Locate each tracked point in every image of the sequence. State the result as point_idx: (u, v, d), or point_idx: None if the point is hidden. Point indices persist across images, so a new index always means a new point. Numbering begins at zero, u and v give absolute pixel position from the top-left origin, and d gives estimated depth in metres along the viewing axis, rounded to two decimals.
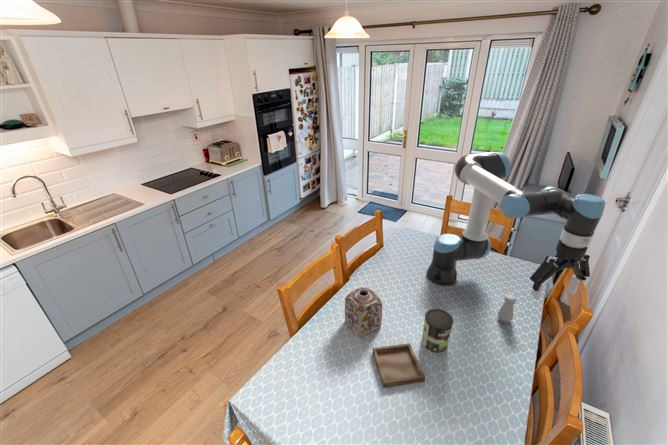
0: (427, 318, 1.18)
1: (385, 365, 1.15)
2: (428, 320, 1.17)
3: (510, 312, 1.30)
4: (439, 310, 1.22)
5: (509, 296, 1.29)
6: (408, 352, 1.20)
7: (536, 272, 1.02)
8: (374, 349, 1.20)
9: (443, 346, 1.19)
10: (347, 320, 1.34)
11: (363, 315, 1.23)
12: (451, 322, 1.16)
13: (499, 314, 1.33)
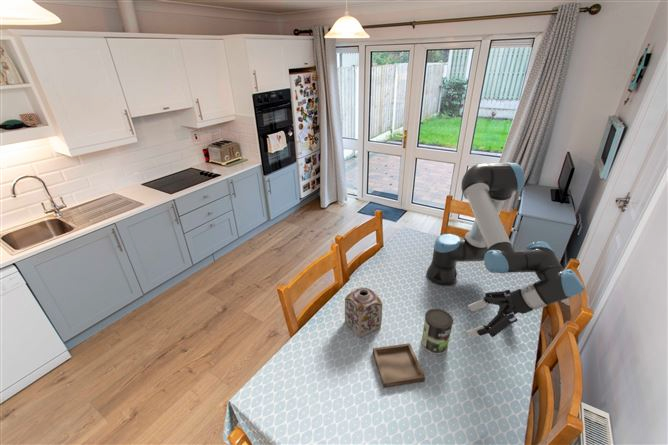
0: (427, 318, 1.18)
1: (385, 365, 1.15)
2: (428, 320, 1.17)
3: None
4: (439, 310, 1.22)
5: None
6: (408, 352, 1.20)
7: None
8: (374, 349, 1.20)
9: (443, 346, 1.19)
10: (347, 320, 1.34)
11: (363, 315, 1.23)
12: (451, 322, 1.16)
13: None
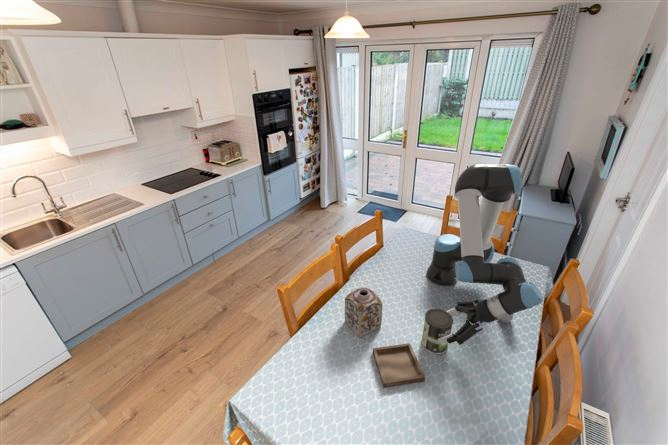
0: (427, 318, 1.18)
1: (385, 365, 1.15)
2: (428, 320, 1.17)
3: None
4: (439, 310, 1.22)
5: None
6: (408, 352, 1.20)
7: None
8: (374, 349, 1.20)
9: (443, 346, 1.19)
10: (347, 320, 1.34)
11: (363, 315, 1.23)
12: (451, 322, 1.16)
13: None
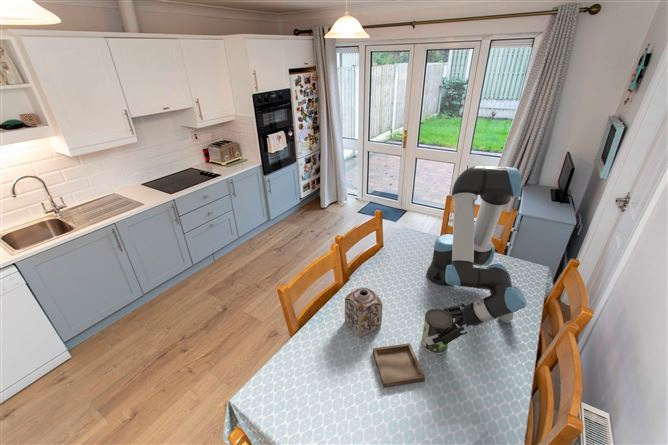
0: (427, 318, 1.18)
1: (385, 365, 1.15)
2: (428, 320, 1.17)
3: None
4: (439, 310, 1.22)
5: None
6: (408, 352, 1.20)
7: None
8: (374, 349, 1.20)
9: (443, 346, 1.19)
10: (347, 320, 1.34)
11: (363, 315, 1.23)
12: (451, 322, 1.16)
13: None
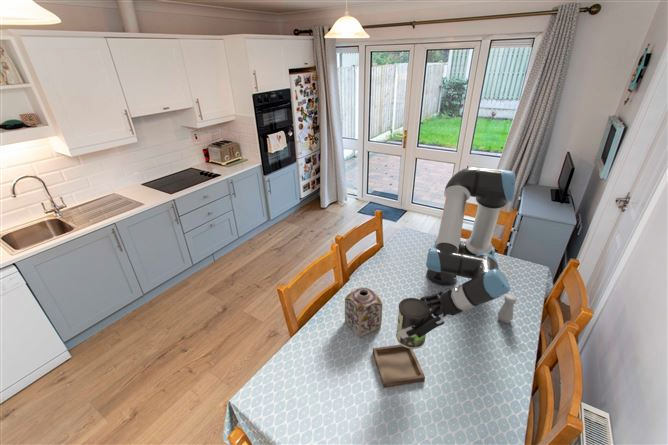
0: (401, 308, 1.05)
1: (385, 365, 1.15)
2: (402, 310, 1.04)
3: (510, 312, 1.30)
4: (415, 299, 1.09)
5: (509, 296, 1.29)
6: (408, 352, 1.20)
7: None
8: (374, 349, 1.20)
9: (419, 340, 1.05)
10: (347, 320, 1.34)
11: (363, 315, 1.23)
12: (427, 312, 1.03)
13: (499, 314, 1.33)
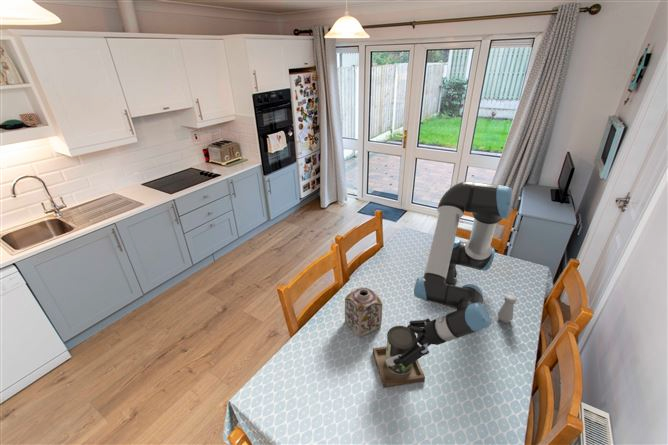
0: (389, 337, 1.09)
1: (385, 365, 1.15)
2: (390, 339, 1.09)
3: (510, 312, 1.30)
4: (403, 327, 1.13)
5: (509, 296, 1.29)
6: None
7: None
8: (374, 349, 1.20)
9: (406, 367, 1.10)
10: (347, 320, 1.34)
11: (363, 315, 1.23)
12: None
13: (499, 314, 1.33)
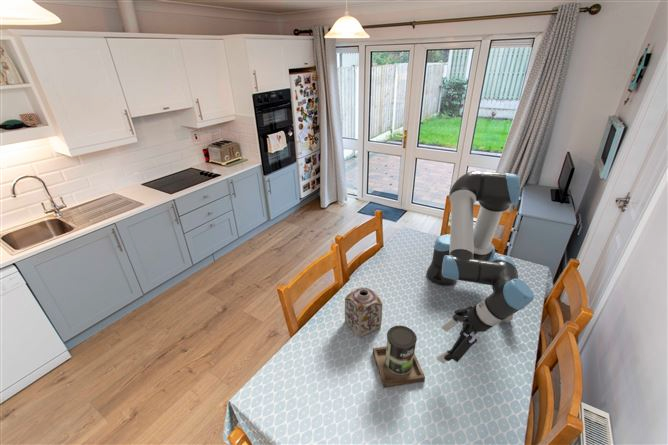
0: (389, 336, 1.10)
1: (385, 365, 1.15)
2: (390, 338, 1.09)
3: None
4: (403, 327, 1.13)
5: None
6: None
7: None
8: (374, 349, 1.20)
9: (406, 366, 1.10)
10: (347, 320, 1.34)
11: (363, 315, 1.23)
12: (414, 341, 1.08)
13: None
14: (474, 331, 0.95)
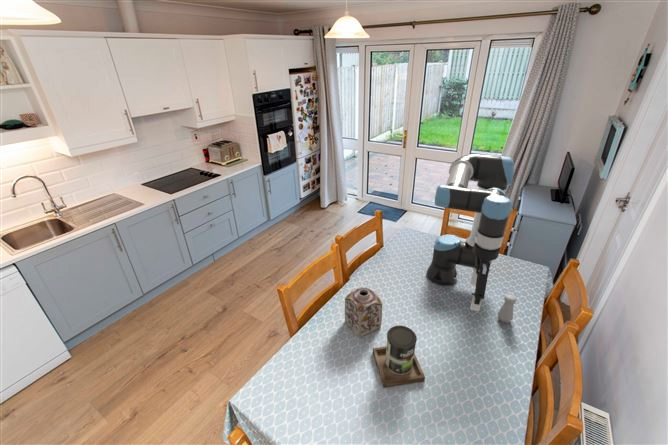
0: (389, 336, 1.10)
1: (385, 365, 1.15)
2: (390, 338, 1.09)
3: (510, 312, 1.30)
4: (403, 327, 1.13)
5: (509, 296, 1.29)
6: None
7: None
8: (374, 349, 1.20)
9: (406, 367, 1.10)
10: (347, 320, 1.34)
11: (363, 315, 1.23)
12: (414, 341, 1.08)
13: (499, 314, 1.33)
14: (484, 262, 0.96)
